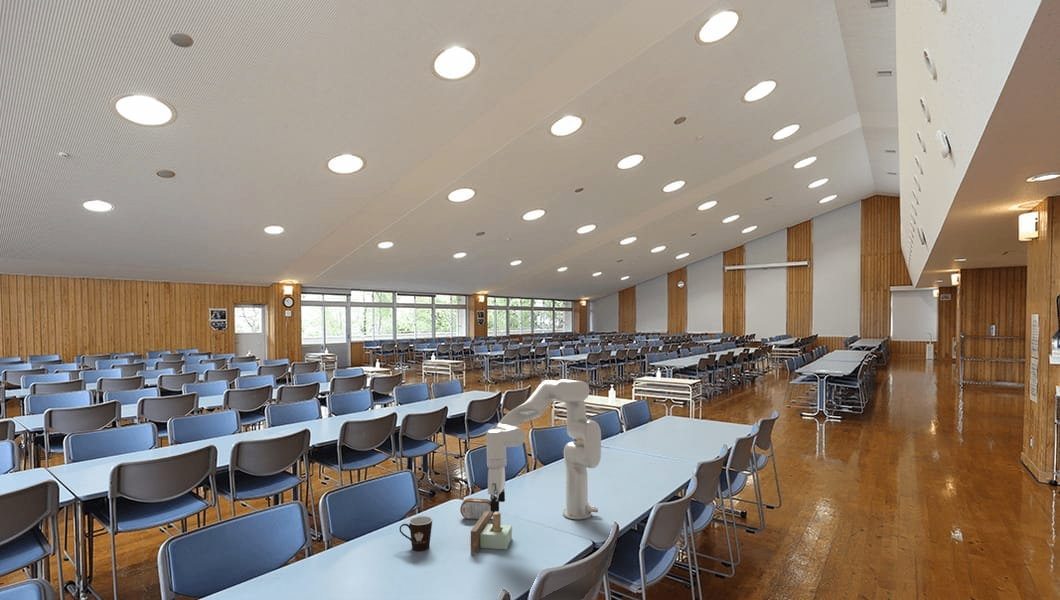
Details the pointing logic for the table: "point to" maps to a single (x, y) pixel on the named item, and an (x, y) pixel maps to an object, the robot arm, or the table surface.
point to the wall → (479, 531)
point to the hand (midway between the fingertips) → (497, 506)
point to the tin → (475, 508)
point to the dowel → (496, 522)
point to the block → (496, 537)
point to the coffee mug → (419, 532)
